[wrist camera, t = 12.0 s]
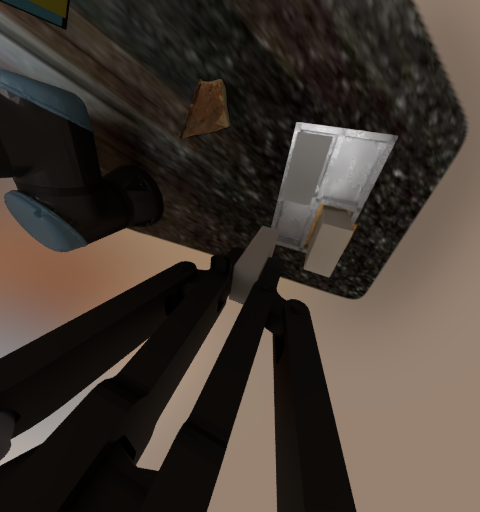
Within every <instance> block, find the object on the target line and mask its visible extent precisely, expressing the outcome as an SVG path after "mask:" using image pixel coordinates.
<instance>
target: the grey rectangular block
mask: <svg viewBox="0 0 480 512" xmlns="http://www.w3.org/2000/svg"><path fill="white" fill-rule="evenodd" d="M332 139H333V137H332V136H325V135H318V134H311V133H305V132H298V133H297V137H296V141H295V145H294V149H293V153H292V157H291V161H290V165H289V169H288V173H287V177H286V181H285V185H284V189H283V193H282V196H281V199H282V200H286V201H290V202H294V203H298V204H303V205H307V206H310V204H311V201H312V198H313V195H314V192H315V189H316V186H317V183H318V180H319V177H320V174H321V172H322V169H323V166H324V163H325V160H326V157H327V154H328V151H329V148H330V145H331V142H332Z"/></svg>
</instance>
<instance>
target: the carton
mask: <svg viewBox="0 0 480 512" xmlns="http://www.w3.org/2000/svg"><path fill="white" fill-rule="evenodd" d="M0 1H1V2H3V3H5V4H8V5H10V6H12V7H15V8H17V9H19V10H22V11H24V12H26V13H28V14H31V15H33V16H35V17H38V18H40V19H42V20H45V21H47V22H49V23H52V24H54V25H56V26H59V27H61V28H63V29H66V28H67V19H68V11H69V2H70V0H0Z"/></svg>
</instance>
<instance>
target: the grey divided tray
mask: <svg viewBox="0 0 480 512" xmlns="http://www.w3.org/2000/svg"><path fill="white" fill-rule="evenodd" d="M298 132H305V133H311V134H318V135H325V136H332V137H333V139H332V142H331V145H330V148H329V151H328V154H327V157H326V160H325V163H324V166H323V169H322V172H321V174H320V177H319V180H318V183H317V186H316V189H315V192H314V195H313V198H312V201H311V204H310V206H307V205H303V204H298V203H294V202H290V201H286V200H282V199H281V196H282V193H283V189H284V185H285V181H286V177H287V173H288V169H289V165H290V161H291V157H292V153H293V149H294V145H295V141H296V137H297V133H298ZM397 138H398V136H396V135H388V134H381V133H374V132H367V131H359V130H352V129H345V128H337V127H330V126H323V125H315V124H308V123H301V122H297V123H296V127H295V131H294V135H293V139H292V143H291V147H290V152H289V156H288V160H287V164H286V168H285V172H284V176H283V181H282V185H281V189H280V193H279V197H278V201H277V205H276V209H275V214H274V218H273V222H272V226H271V228H272V229H276V230H279V234H278V238H277V241H276V244H277V245H281V246H284V247H287V248H291V249H294V250H297V251H301V252H304V253H307V249H308V243H309V241H310V238H311V236H312V233H313V230H314V228H315V225H316V223H317V220H318V218H319V215H320V213H321V210H322V208H323V205H328V206H332V207H337V208H341V209H345V210H348V214H349V217H350V221H351V224H352V227H353V231H355V229H356V227H357V225H358V224H357V221H356V220H357V218H358V216H359V214H360V212H361V210H362V208H363V206H364V204H365V202H366V200H367V198H368V196H369V194H370V192H371V190H372V188H373V186H374V184H375V182H376V180H377V178H378V176H379V174H380V172H381V170H382V168H383V166H384V164H385V162H386V160H387V158H388V156H389V154H390V152H391V150H392V148H393V146H394V144H395V142H396V140H397ZM353 233H354V232H353ZM352 235H353V234H352ZM351 237H352V236H351ZM350 239H351V238H350ZM349 241H350V240H349ZM349 241H348V243H349ZM348 243H347V245H348ZM347 245H346V247H347ZM346 247H345V249H346ZM345 249H344V250H345Z"/></svg>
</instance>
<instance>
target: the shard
mask: <svg viewBox="0 0 480 512" xmlns="http://www.w3.org/2000/svg"><path fill="white" fill-rule="evenodd" d="M229 126H230V121H229V114H228V109H227V98H226V88H225V85H224V83H223V80H221V79H218V80H215V81H211V82H203V81H202V80H201V79H200V80H199V83H198V85H197V88H196V90H195V94H194V97H193V99H192V102H191V105H190V108H189V111H188V114H187V117H186V121H185V125H184V129H183V131H182V133H181V136H180V139H181V138H186V137H189V136H193V135H197V134H198V135H200V134H204V133H210V132H214V131H218V130H220V129H222V128H226V127H229Z"/></svg>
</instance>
